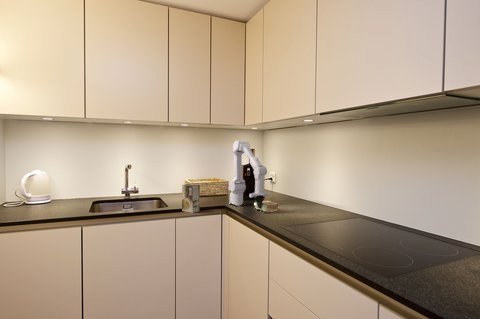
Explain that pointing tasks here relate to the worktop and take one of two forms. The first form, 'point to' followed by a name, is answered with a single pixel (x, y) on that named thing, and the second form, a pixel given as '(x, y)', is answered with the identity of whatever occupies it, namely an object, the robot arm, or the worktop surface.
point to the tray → (263, 207)
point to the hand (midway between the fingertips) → (259, 208)
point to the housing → (270, 205)
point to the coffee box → (190, 198)
